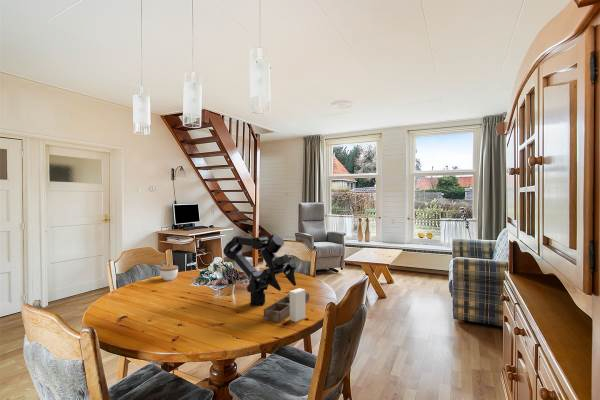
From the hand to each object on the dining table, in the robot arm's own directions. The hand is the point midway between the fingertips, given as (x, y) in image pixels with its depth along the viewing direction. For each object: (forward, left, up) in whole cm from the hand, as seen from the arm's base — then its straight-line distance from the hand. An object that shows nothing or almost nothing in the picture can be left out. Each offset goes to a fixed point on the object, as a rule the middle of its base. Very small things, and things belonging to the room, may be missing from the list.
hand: (288, 287), depth 132 cm
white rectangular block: (+4, -4, -12) cm, 13 cm away
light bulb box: (-30, +70, -12) cm, 77 cm away
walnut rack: (0, +7, -12) cm, 14 cm away
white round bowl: (-75, +60, -12) cm, 97 cm away
